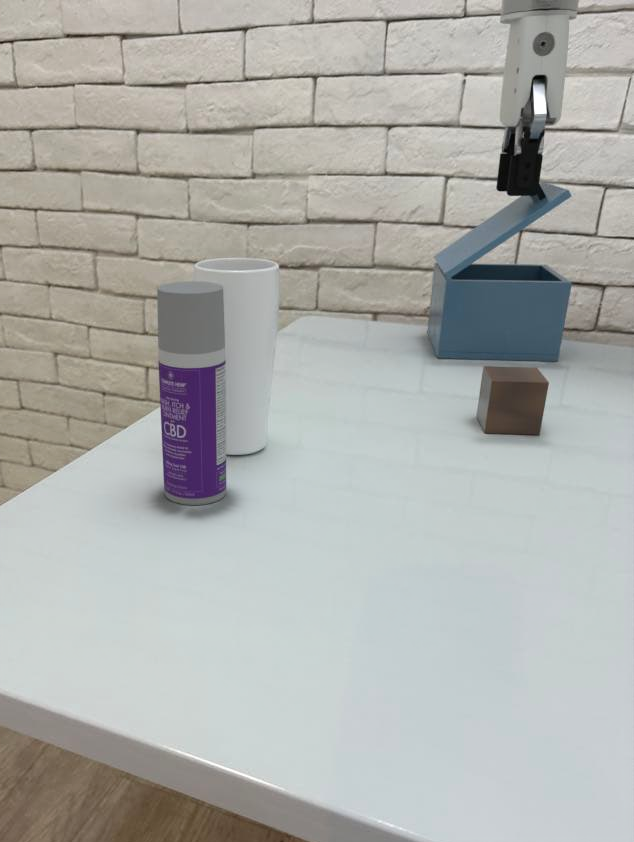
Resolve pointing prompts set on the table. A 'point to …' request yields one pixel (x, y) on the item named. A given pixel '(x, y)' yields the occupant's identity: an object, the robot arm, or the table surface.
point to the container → (192, 390)
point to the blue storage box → (498, 312)
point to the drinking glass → (246, 344)
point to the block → (512, 400)
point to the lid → (499, 228)
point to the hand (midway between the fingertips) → (516, 191)
